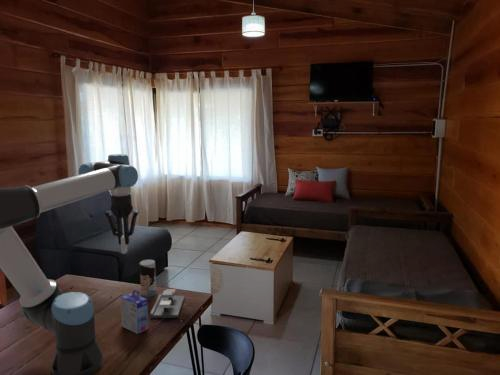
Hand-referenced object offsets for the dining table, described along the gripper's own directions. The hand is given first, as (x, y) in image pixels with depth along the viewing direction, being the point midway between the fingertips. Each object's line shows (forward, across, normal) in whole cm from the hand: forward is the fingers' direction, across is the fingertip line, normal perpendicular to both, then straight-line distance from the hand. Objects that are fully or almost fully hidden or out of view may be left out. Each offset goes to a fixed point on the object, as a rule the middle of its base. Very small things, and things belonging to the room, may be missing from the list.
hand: (124, 252), depth 152 cm
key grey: (+21, -16, -5) cm, 26 cm away
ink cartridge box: (+27, -6, +11) cm, 29 cm away
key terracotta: (+23, -15, -9) cm, 29 cm away
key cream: (+23, -16, +1) cm, 28 cm away
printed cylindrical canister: (+27, -4, -18) cm, 32 cm away
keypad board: (+26, -16, -4) cm, 31 cm away
